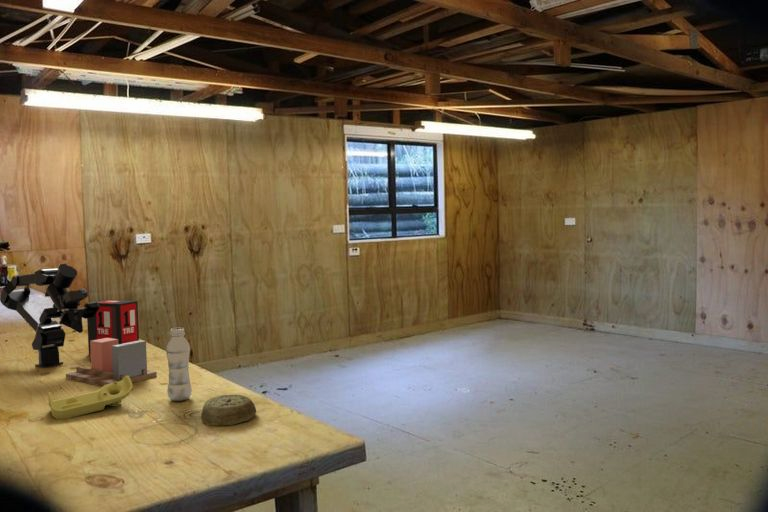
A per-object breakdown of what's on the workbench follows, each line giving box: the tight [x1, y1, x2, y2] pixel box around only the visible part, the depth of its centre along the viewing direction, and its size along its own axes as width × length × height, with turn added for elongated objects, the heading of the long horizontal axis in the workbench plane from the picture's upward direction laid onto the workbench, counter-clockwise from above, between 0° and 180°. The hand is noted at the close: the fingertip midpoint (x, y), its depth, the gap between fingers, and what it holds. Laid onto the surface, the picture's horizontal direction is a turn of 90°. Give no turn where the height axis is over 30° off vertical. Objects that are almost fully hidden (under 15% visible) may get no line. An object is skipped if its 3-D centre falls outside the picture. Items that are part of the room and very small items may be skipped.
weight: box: [200, 394, 257, 427], centre depth 152 cm, size 14×13×5 cm
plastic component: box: [47, 375, 133, 420], centre depth 162 cm, size 20×7×10 cm
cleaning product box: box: [86, 299, 140, 356], centre depth 232 cm, size 16×9×20 cm, turn 68°
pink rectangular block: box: [90, 338, 118, 372], centre depth 196 cm, size 6×6×10 cm
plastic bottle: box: [165, 327, 193, 402], centre depth 168 cm, size 6×7×20 cm
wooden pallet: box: [65, 366, 158, 387], centre depth 195 cm, size 24×16×3 cm, turn 58°
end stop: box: [112, 339, 148, 381], centre depth 190 cm, size 3×10×10 cm, turn 148°
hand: (81, 331), depth 203 cm, fingers closed
